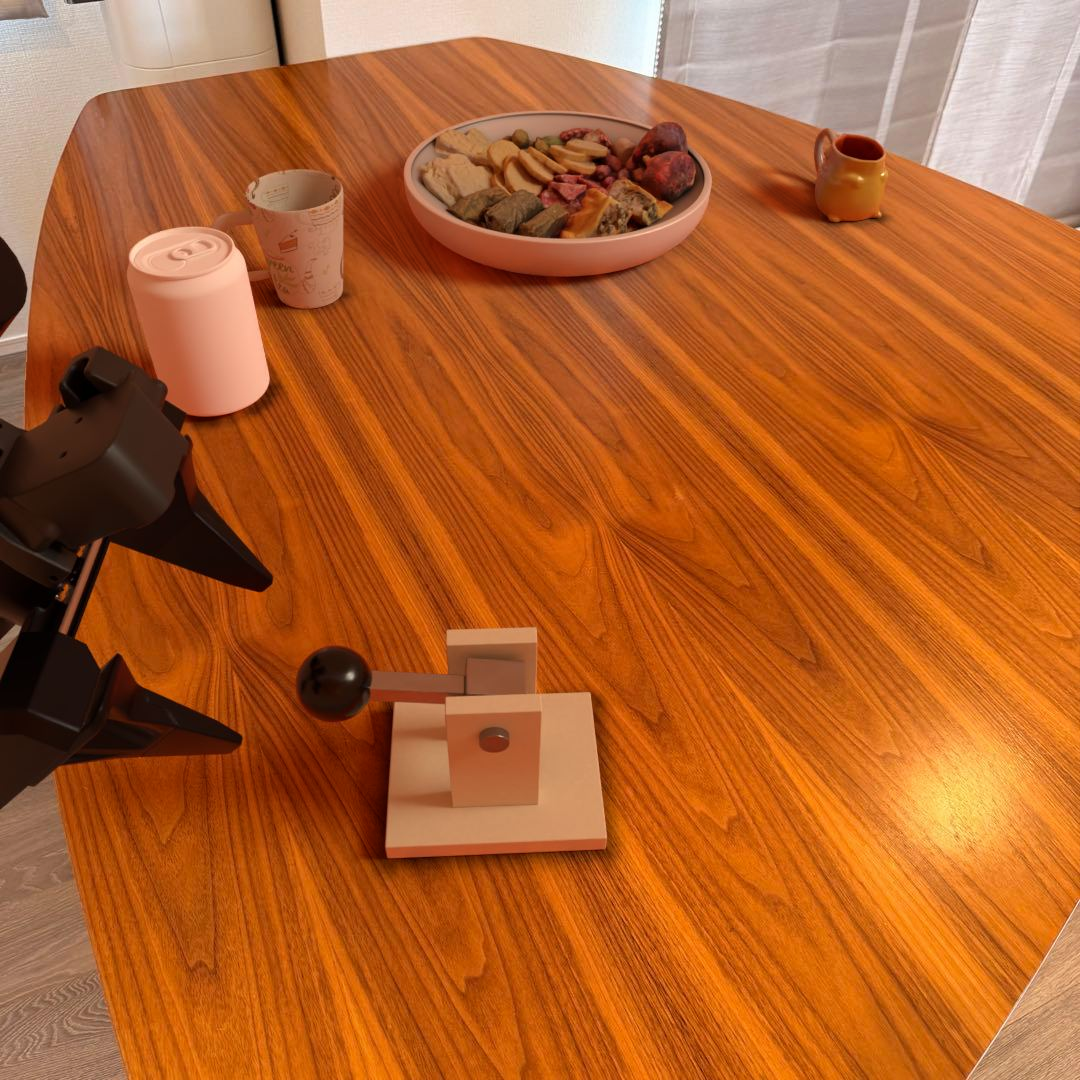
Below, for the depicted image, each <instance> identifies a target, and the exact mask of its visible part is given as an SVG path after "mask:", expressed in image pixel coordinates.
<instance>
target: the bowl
mask: <svg viewBox="0 0 1080 1080" xmlns="http://www.w3.org/2000/svg"><path fill="white" fill-rule="evenodd" d="M712 182H713V179H712V173H711V170H710V168H709V165H708V164H707V162H706V160H705V159H704V158H703V157H702V155H700V153H698V151H697V150H696V149H695V148H693V147H692V146H691V145H689V144H688V137H687V134H686V131H685V130H684V128H683V127H682V126H681V125H680V124H678V123H677V122H674V121H662V122H660V123H657V124H656V125H654V126H652V125H648V124H645V123H642V122H639V121H635V120H632V119H628V118H625V117H624V118H623V117H618V116H613V115H607V114H602V113H595V112H588V111H587V112H586V111H576V110H557V109H554V110H550V109H549V110H545V109H544V110H543V109H541V110H521V111H512V112H504V113H503V112H502V113H497V114H491V115H487V116H481V117H477V118H473V119H469V120H465V121H463V122H460V123H456V124H453V125H452V126H448V127H446V128H444V129H441V130H439V131H437V132H436V133H434V134H432V135H430V136H429V137H427V138H426V139H424V140H423V141H422V142H419V144H418V145H417V146H416V147H415V148H414V149H413V150H411V153H410V154H409V155H408V157H407V159H406V160H405V163H404V167H403V183H404V191H405V196H406V200H407V203H408V206H409V207H410V210H411V212H412V213H413V216H414V217H415V218H416V220H417V221H418V223H419V224H420V225H421V226H422V228H423V229H424V230H425V231H426V232H427V233H428V234H429V235H430V236H431V237H432V238H433V239H435V240H436V241H437V242H438V243H439V244H440V245H442V246H444V247H445V248H447V249H449V250H450V251H452V252H454V253H455V254H457V255H460V256H462V257H463V258H466V259H468V260H470V261H473V262H475V263H478V264H481V265H484V266H487V267H490V268H494V269H497V270H502V271H507V272H512V273H516V274H524V275H530V276H540V277H541V276H542V277H562V278H563V277H564V278H565V277H584V276H595V275H603V274H608V273H613V272H618V271H623V270H626V269H631V268H633V267H637V266H640V265H642V264H645V263H648V262H650V261H653V260H655V259H657V258H659V257H661V256H663V255H664V254H666V253H668V252H669V251H671V250H673V249H674V248H675V247H677V246H678V245H680V244H681V243H683V241H684V240H686V239H687V238H688V236H690V235H691V234H692V232H693V231H694V230H695V229H696V227H697V226H698V225H699V223H700V222H701V220H702V219H703V217H704V215H705V213H706V211H707V207H708V205H709V202H710V196H711V193H712V192H711V190H712V185H713V183H712Z"/></svg>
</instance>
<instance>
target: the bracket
mask: <svg viewBox="0 0 1080 1080" xmlns="http://www.w3.org/2000/svg"><path fill="white" fill-rule="evenodd" d="M537 630H538V629H537V627H536V626H527V627H526V626H525V627H523V626H522V627H495V628H493V627H491V628H488V627H487V628H460V629H457V628H456V629H446V631H445V651H446V665H447V674H449V675H464V671H465V665H466V659H467V658H468V657H470V658H488V659H505V660H523V661H524V667H525V685H526V694H515V695H485V696H455V697H445V704H425V703H405V702H393V709H392V711H393V712H392V728H391V745H390V759H389V760H390V761H389V774H388V775H389V776H388V790H387V791H388V792H387V805H386V806H387V808H386V821H385V822H386V823H385V837H384V839H385V841H384V849H385V854H386V858H387V859H404V858H406V859H407V858H431V857H452V856H454V857H455V856H477V855H479V856H481V855H501V854H522V853H523V854H524V853H525V854H526V853H527V854H528V853H546V852H547V853H548V852H572V851H596V850H597V851H598V850H606V847H607V840H608V835H607V834H608V833H607V825H606V824H607V823H606V815H605V805H604V799H603V790H602V781H601V780H602V779H601V771H600V764H599V755H598V747H597V738H596V730H595V729H596V728H595V721H594V711H593V703H592V695H591V692H590V691H583V692H582V691H581V692H580V691H579V692H578V691H577V692H554V693H553V692H552V693H548V692H547V693H537V678H538V677H537V676H538V674H537V673H538V672H537V671H538V631H537Z"/></svg>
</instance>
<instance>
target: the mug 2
mask: <svg viewBox="0 0 1080 1080" xmlns="http://www.w3.org/2000/svg"><path fill="white" fill-rule="evenodd" d="M826 137H827V139H828V141H829V146H828V148H826V149H825V150H824V144H825V139H826ZM886 158H887V154H886V149H885V148H884V146H883V145H882V144H881V143H880V142H879V141H877V140H876V139H874V138H872V137H869V136H866V135H861V134H852V133H845V132H844V133H841V135H840V136H837V134H836V132H835V131H834V130H833V129H832V128H830V127H825V128H823V129H821V130H820V131H818V134H817V135H816V138H815V141H814V147H813V162H814V169H815V172H816V179H815V181H814V182H815V184H814V185H815V186H814V200H815V204H816V207H817V208H818V210H819V211H820V212H821V213H822V214H824V216H826V217H827V218H828V220H829V221H830V222H833V223H840V222H841V221H846V222H858V221H864V220H867V219H870V218H873V219H874V218H877V219H878V218H882V215H883V214H882V212H881V211H880V207H881V205H882V202H883V200H884V195H885V191H886V184H887V180H888V178H889V171H888V170H887V169H886Z"/></svg>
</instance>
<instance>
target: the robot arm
mask: <svg viewBox="0 0 1080 1080" xmlns="http://www.w3.org/2000/svg"><path fill="white" fill-rule="evenodd" d="M27 282H28V281H27V278H26V274H25V270H24V269H23V266H22V265H21V263H20V260H19V259H18V257H17V255H16V254H15V252H14V251H13V250H12V248H11V247H10V246H9V245H8V243H7V242H6V240H5V239H4V238H3V237H2V236H1V235H0V338H2V336H3V335H4V334H5V332H6V331H7V330H8V328H9V327H10V325H11V324H12V323H13V321H14V320H15V319H16V318H17V316H18V315H19V314H20V312H21V310H23V308H24V306H25V304H26V302H27V296H28V283H27ZM58 391H59V394H60V397H61V400H62V403H58V404H56V405H54V406H53V407H52V409H51V411H50V413H49V415H48V417H47V419H46V420H45V421H44V422H43V423H41V424H39V425H37V426H35V427H33V428H31V429H30V430H27V429H23V428H20V427H18V426H15V425H14V424H12V423H10V422H9V421H7V420H5V419H3V418H1V417H0V641H1V640H2V639H3V638H4V637H5V636H7V634H9V632H10V631H11V630H12V629H13V628H14V627H15V626H16V625H17V626H18V627H20V630H19V632H18V634H17V635H16V636H15V637H14V638H13V639H12V640H11V641H10V642H9V643H8V644H7V645H6V646H5V647H4V648H3V650H1V651H0V811H1V810H2V809H3V808H4V807H6V806H7V805H8V804H9V803H10V802H11V801H13V800H14V799H15V798H16V797H17V796H19V795H20V794H21V793H22V792H23V791H24V790H25V789H27V788H28V787H31V788H35V787H37V786H38V785H39V784H40V783H42V782H43V781H44V780H46V778H47V777H49V776H50V775H51V774H52V773H53V772H54V771H56V770H57V769H58V768H59V767H64V766H66V767H67V766H73V765H80V764H87V763H93V762H94V763H95V762H102V761H108V760H109V761H110V760H118V759H119V760H120V759H134V758H135V759H137V758H159V757H162V758H163V757H186V756H187V757H190V756H218V755H219V756H220V755H221V756H222V755H229V754H231V753H233V752H235V751H236V750H237V749H239V748H240V747H241V746H242V744H243V740H244V737H243V735H242V734H241V733H239V732H237V731H236V730H234V729H233V728H232V727H229V726H228V725H226V724H224V723H223V722H221V721H219V720H217V719H215V718H213V717H211V716H208V715H206V714H204V713H202V712H200V711H197V710H195V709H194V708H191V707H188V706H186V705H184V704H182V703H180V702H177V701H175V700H173V699H171V698H168V697H167V696H164V695H162V694H160V693H157V692H155V691H153V690H151V689H149V688H146V687H144V686H142V685H140V684H139V683H138V682H137V681H136V678H135V677H134V674H133V673H132V672H131V669H130V668H129V665H127V663H126V661H125V659H124V657H123V656H122V655H121V653H119V652H117V653H116V654H114V655H113V656H112V657H111V658H110V659H109V660H108V661H107V662H105V664H104V665H102V666H101V667H100V665H99V664H98V662H97V661H96V659H95V657H94V655H93V653H92V652H91V650H90V648H89V646H88V644H87V643H85V642H83V641H81V640H79V639H77V638H76V636H77V633H78V631H79V628H80V625H81V623H82V620H83V618H84V615H85V612H86V609H87V606H88V605H89V602H90V598H91V595H92V593H93V590H94V587H95V584H96V582H97V579H98V576H99V573H100V572H101V568H102V565H103V564H104V560H105V557H106V555H107V552H108V550H109V548H110V544H111V543H112V544H114V545H117V546H121V547H123V548H125V549H128V550H132V551H134V552H137V553H140V554H143V555H145V556H148V557H151V558H154V559H157V560H159V561H162V562H165V563H168V564H171V565H173V566H176V567H179V568H182V569H184V570H187V571H190V572H192V573H196V574H199V575H201V576H204V577H207V578H210V579H212V580H215V581H218V582H221V583H223V584H225V585H229V586H232V587H237V588H240V589H243V590H248V591H252V592H256V593H263V592H266V590H267V589H268V588H269V587H271V586H272V585H273V583H274V576H273V573H272V572H271V571H270V570H269V569H268V568H267V566H265V565H264V564H263V562H261V560H260V559H259V558H258V557H257V556H256V554H254V552H253V551H252V549H250V548H249V547H248V546H247V544H246V543H245V542H244V541H243V540H242V539H241V537H240V536H239V535H238V534H237V533H236V532H235V531H234V530H233V529H232V528H231V527H230V525H229V524H228V523H227V522H226V521H225V519H224V518H223V517H222V516H221V515H220V514H219V513H218V511H217V510H216V509H215V508H214V506H213V505H212V504H211V503H210V501H209V500H208V498H207V497H206V496H205V494H204V493H203V492H202V490H201V489H200V487H199V485H198V482H197V476H196V472H195V471H196V470H195V465H194V460H193V448H194V441H193V439H192V437H191V436H190V435H189V434H188V433H186V434H184V435H183V434H182V433H181V432H182V429H183V426H184V423H185V420H186V417H187V415H188V414H187V413H186V412H184V411H182V410H181V409H179V408H178V407H176V406H174V405H173V404H171V403H170V402H168V401H166V400H165V399H166V396H167V393H168V388H167V386H166V384H165V383H164V382H162V381H161V380H158V378H153V377H151V376H150V375H148V373H147V372H146V371H145V370H144V369H143V368H142V367H141V366H138V365H137V364H136V363H133V362H132V361H130V360H127V359H126V358H124V357H122V356H120V355H118V354H116V353H114V352H112V351H110V350H108V349H106V348H104V347H103V346H101V345H96V346H93V347H92V348H91V347H90V348H89V349H87V350H85V351H83V352H81V353H78V354H77V355H74V356H73V357H71V358H70V360H69V362H68V364H67V366H66V368H65V370H64V372H63V374H62V376H61V377H60V380H59V382H58ZM82 547H83V549H82V550H81V548H82ZM80 551H81V552H82V553H81V554H80V555H79V554H78V553H80ZM66 586H67V590H66V591H65V587H66ZM64 591H65V593H64V595H65V596H64V598H63V599H62V594H63V592H64ZM61 600H62V601H61Z"/></svg>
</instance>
